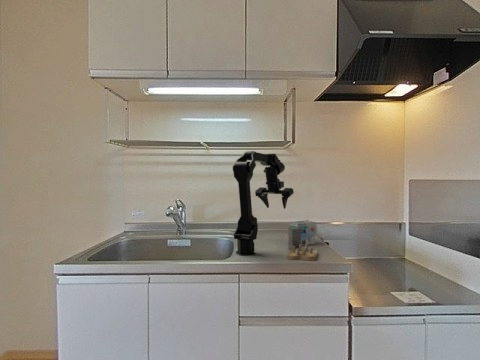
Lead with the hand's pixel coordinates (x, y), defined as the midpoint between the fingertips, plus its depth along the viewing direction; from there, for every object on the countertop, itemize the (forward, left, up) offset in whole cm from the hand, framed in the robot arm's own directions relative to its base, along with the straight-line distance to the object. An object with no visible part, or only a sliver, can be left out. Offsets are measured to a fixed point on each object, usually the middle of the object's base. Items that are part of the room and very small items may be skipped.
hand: (276, 208), depth 185 cm
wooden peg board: (-7, -33, -17) cm, 38 cm away
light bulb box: (+8, -11, -17) cm, 22 cm away
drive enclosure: (-4, -22, -17) cm, 28 cm away
